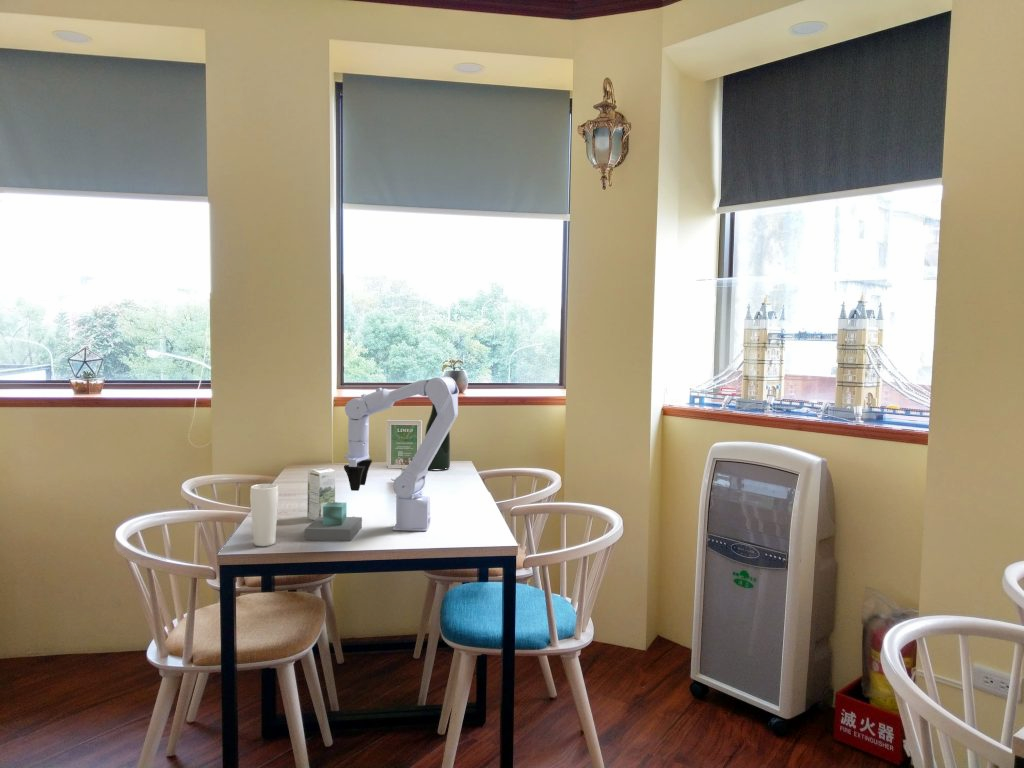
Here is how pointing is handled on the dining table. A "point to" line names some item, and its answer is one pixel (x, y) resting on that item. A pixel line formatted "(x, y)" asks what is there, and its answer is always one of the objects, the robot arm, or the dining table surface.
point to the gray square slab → (333, 530)
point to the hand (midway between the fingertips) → (358, 487)
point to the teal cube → (334, 513)
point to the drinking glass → (264, 513)
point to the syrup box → (320, 491)
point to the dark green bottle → (443, 452)
